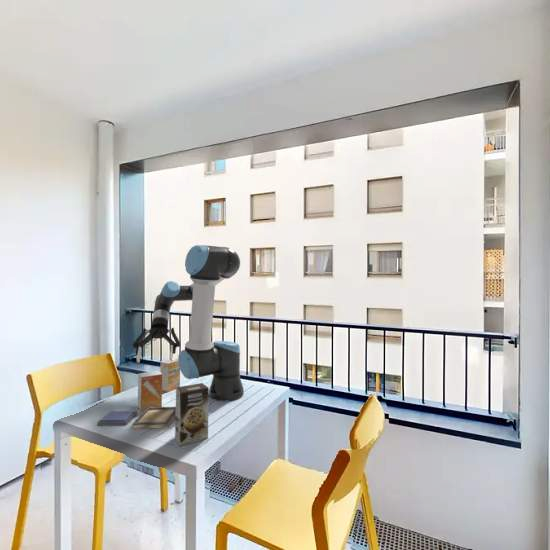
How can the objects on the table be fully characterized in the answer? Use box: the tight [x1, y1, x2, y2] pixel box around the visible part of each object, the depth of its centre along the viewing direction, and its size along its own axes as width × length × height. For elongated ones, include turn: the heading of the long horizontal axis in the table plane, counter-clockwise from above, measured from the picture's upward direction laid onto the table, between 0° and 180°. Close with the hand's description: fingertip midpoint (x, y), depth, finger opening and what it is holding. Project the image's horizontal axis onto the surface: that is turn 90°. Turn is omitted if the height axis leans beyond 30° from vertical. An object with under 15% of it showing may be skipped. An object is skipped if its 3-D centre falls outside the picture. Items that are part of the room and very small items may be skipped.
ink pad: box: [96, 410, 138, 426], centre depth 114 cm, size 10×9×2 cm
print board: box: [131, 406, 176, 429], centre depth 114 cm, size 12×14×2 cm
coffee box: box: [174, 382, 210, 446], centre depth 101 cm, size 9×6×16 cm
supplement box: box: [159, 358, 181, 393], centre depth 146 cm, size 8×5×13 cm, turn 154°
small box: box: [137, 369, 163, 411], centre depth 126 cm, size 8×6×13 cm
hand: (154, 360), depth 137 cm, fingers open, 13 cm apart
